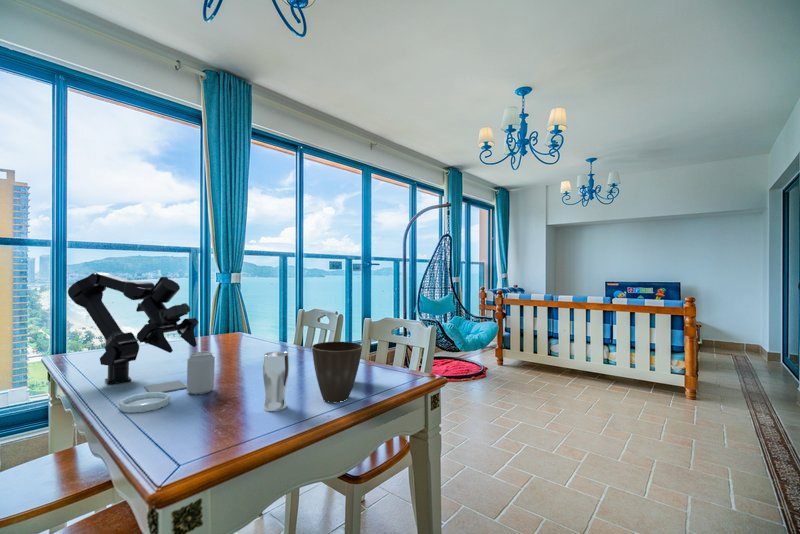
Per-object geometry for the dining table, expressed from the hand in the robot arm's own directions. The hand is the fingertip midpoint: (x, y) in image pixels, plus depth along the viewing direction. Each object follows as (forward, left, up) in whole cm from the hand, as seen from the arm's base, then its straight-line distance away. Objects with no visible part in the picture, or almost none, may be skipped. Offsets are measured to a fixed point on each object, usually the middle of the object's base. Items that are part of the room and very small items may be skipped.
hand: (183, 349), depth 120 cm
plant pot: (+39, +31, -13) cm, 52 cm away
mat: (-5, -4, -13) cm, 14 cm away
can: (+6, +3, -13) cm, 15 cm away
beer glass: (+34, +14, -13) cm, 39 cm away
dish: (+9, -12, -13) cm, 19 cm away
